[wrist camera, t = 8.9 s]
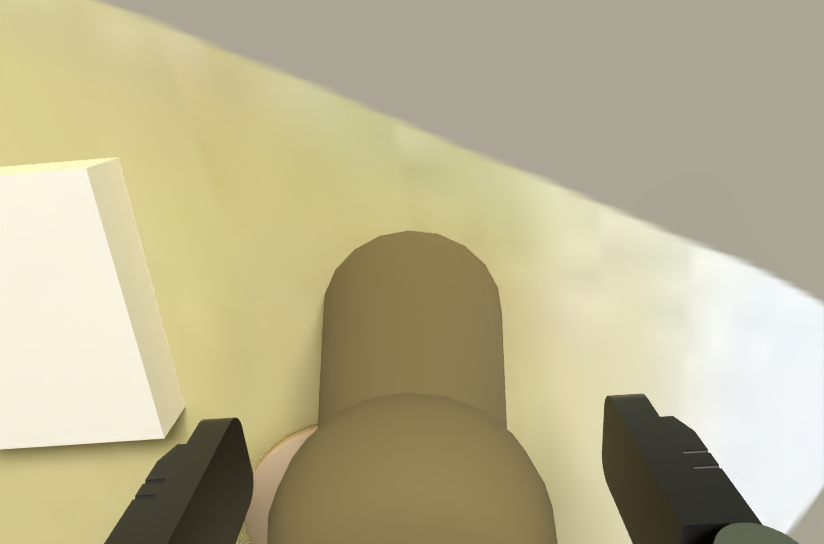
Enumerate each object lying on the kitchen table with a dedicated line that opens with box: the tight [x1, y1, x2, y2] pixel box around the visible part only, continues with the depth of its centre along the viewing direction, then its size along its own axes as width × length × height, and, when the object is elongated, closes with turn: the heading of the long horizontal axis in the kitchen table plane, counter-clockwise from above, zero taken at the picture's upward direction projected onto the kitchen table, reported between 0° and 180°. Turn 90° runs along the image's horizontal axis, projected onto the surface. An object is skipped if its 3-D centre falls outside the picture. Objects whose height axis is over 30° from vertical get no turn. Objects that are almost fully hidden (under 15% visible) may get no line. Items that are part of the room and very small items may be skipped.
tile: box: [0, 157, 185, 449], centre depth 18 cm, size 7×2×9 cm
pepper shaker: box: [267, 231, 557, 544], centre depth 14 cm, size 6×6×11 cm
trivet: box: [245, 425, 318, 544], centre depth 22 cm, size 8×8×1 cm
